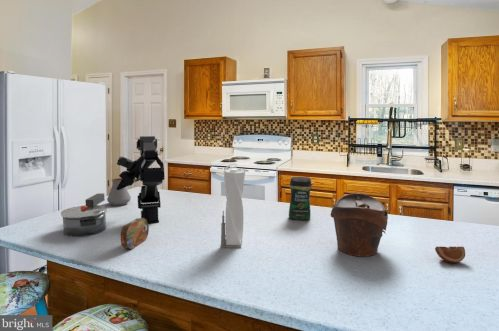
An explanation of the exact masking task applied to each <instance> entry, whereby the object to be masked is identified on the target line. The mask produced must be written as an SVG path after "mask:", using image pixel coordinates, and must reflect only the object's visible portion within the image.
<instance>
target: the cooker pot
mask: <svg viewBox="0 0 499 331" xmlns="http://www.w3.org/2000/svg"><path fill="white" fill-rule="evenodd" d="M106 217H107V215H106V212H105V213H104V214H101V215H98V216H94V217H89V218H78V219H71V218H64V217H62V225H63V226H62V228H63V235H64V236H67V237H73V238H74V237H75V238H77V237H78V238H79V237H87V236H93V235H97V234H100V233H103V232H104V231H106V230H107V218H106Z"/></svg>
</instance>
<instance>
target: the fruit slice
mask: <svg viewBox="0 0 499 331" xmlns="http://www.w3.org/2000/svg"><path fill="white" fill-rule="evenodd" d="M434 250H435V253H436V254H437V256H438V257H439V258H440V259H441V260H443V261H444V262H446V263H449V264H458V263H460V262H461V261H463V260H464V259H465V257H466V249H465V246H435V248H434Z"/></svg>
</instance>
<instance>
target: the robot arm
mask: <svg viewBox="0 0 499 331" xmlns="http://www.w3.org/2000/svg"><path fill="white" fill-rule="evenodd" d="M157 148H158V139H157V138H156V136H154V135H152V136H150V135H149V136H147V135H144V136H143V135H141V136H139V138H137V141H136V150H137V151H139V154H140V156H139V157H138V158H137V159H135V160H132V159H130V158H128V157H125V156H119V158H118V159H117V162H116V165H118V166H121V167H122V168H125V170H123V171H122V172H121V173H120V174H119V175H118V176H119V178H122V180H121V182H120V183H119V185H118V187H117V188H116V189H117V190H120V189H122V188H125V187H126V188H127V187H129V186H130V187H131V186H132V185H133V184H134V183H136V182H135V180H136V179H139V178H140V180H139V181H140V182H142V183H141V184H142V185H141V188H140V192H138V195H137V208H138V209H140V218H145V219H146V220H147V222H148V224H154V223H159V222H160V219H159V208H161V203H162V202H161V196H160V191H159V189H158V186H160V185H162V184H163V182H164V181H165V166H164V163H163V161H162V160H161V158H159V152H158V150H157ZM155 162H156V163H157V164H158V166H159V167H151V166H152V165H153V164H154V163H155Z"/></svg>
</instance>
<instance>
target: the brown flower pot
mask: <svg viewBox="0 0 499 331" xmlns="http://www.w3.org/2000/svg"><path fill="white" fill-rule="evenodd" d="M330 217H331V218H332V219H333V222H334V228H335V230H334V231H335V237H336V242H337V243H336V245H337V248H338V250H340V251H341V252H342V253H344V254H347V255H349V256H353V257H354V256H355V257H371V256H374V255H376V254H377V252H378V250H379V246H380V242H381V239H382V237H383V233H384V234H386V231H387V226H388V219H389V215H388V211H387V208H386V207H385V206H384V204H383V203H382V202H381V201H379V200H378V199H376V198H374V197H373V196H370V195H368V194H364V193H359V192H355V193H353V192H352V193H347V194H345V195H343V196H342V197H340V198H338V199H337V200H336V202H334V205H333V206H332V209H331V211H330Z"/></svg>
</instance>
